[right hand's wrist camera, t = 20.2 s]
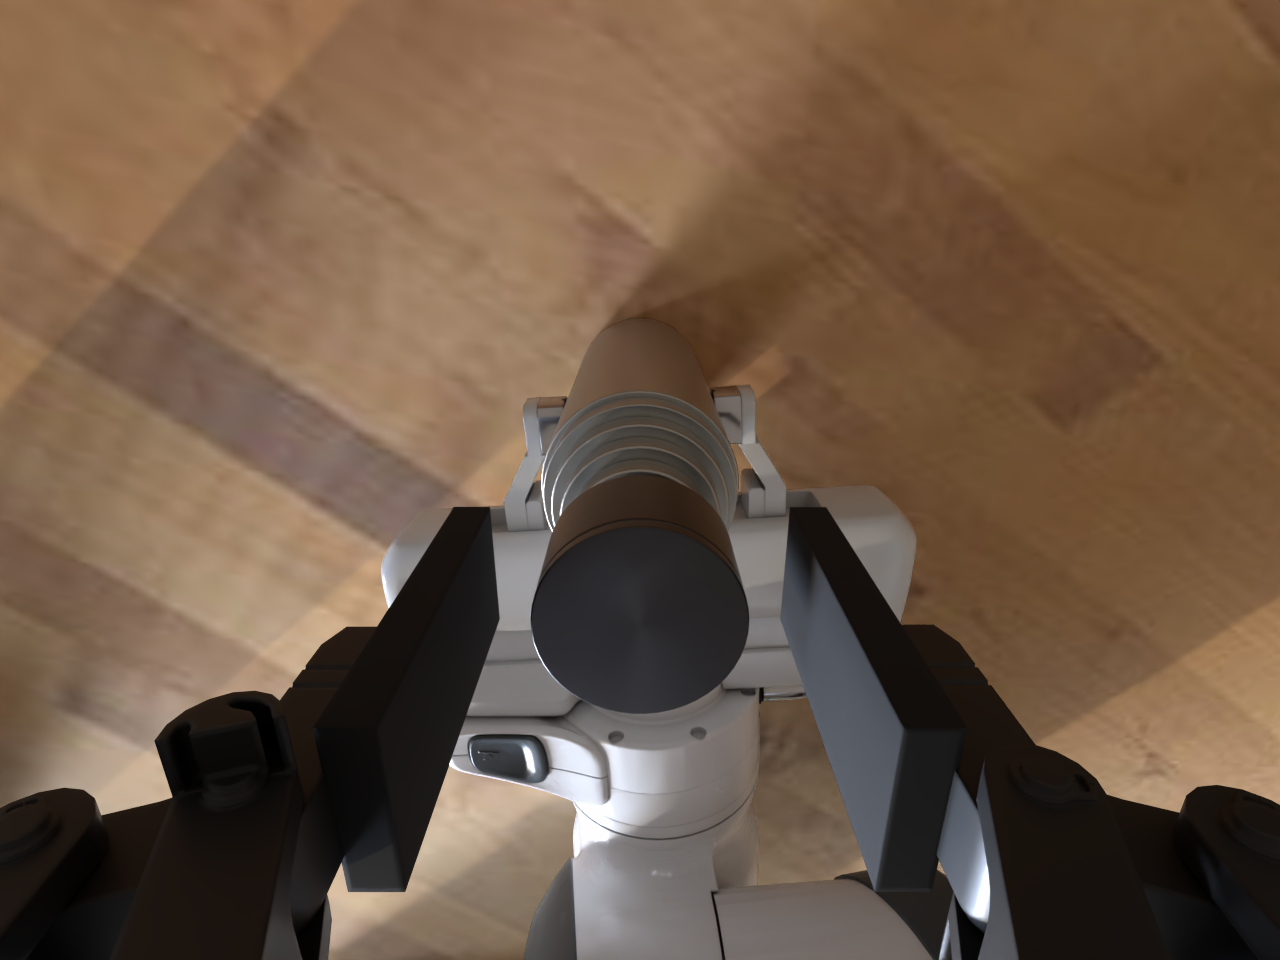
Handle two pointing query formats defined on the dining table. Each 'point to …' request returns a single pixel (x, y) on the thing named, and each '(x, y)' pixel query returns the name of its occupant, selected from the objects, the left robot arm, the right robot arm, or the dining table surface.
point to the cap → (639, 597)
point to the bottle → (639, 421)
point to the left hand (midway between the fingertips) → (637, 394)
